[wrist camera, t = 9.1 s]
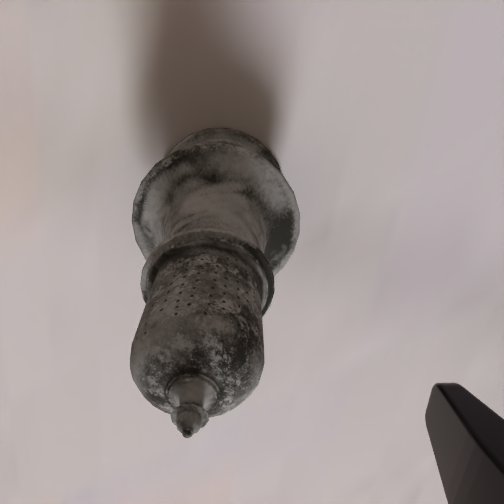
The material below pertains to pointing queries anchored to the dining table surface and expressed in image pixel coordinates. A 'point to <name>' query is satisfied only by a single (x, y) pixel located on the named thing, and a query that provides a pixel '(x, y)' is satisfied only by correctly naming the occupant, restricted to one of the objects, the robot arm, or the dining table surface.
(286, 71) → the dining table surface
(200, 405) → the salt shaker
